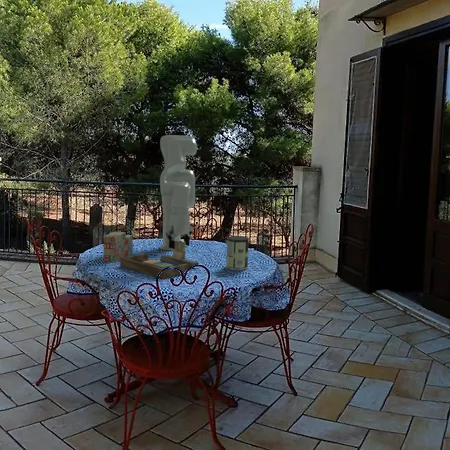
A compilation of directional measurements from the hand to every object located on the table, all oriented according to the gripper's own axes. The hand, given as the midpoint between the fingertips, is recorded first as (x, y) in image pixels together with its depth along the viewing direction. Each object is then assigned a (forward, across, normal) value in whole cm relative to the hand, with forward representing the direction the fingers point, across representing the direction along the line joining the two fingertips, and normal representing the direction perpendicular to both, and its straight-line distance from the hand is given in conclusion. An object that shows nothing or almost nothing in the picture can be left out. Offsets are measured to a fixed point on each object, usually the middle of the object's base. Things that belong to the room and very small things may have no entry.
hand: (179, 246), depth 235 cm
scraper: (+8, 0, +1) cm, 9 cm away
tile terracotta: (+8, +14, -3) cm, 17 cm away
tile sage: (+8, +14, +4) cm, 17 cm away
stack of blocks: (+9, +12, -30) cm, 33 cm away
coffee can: (+8, -15, +23) cm, 29 cm away
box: (+8, +16, +1) cm, 18 cm away
